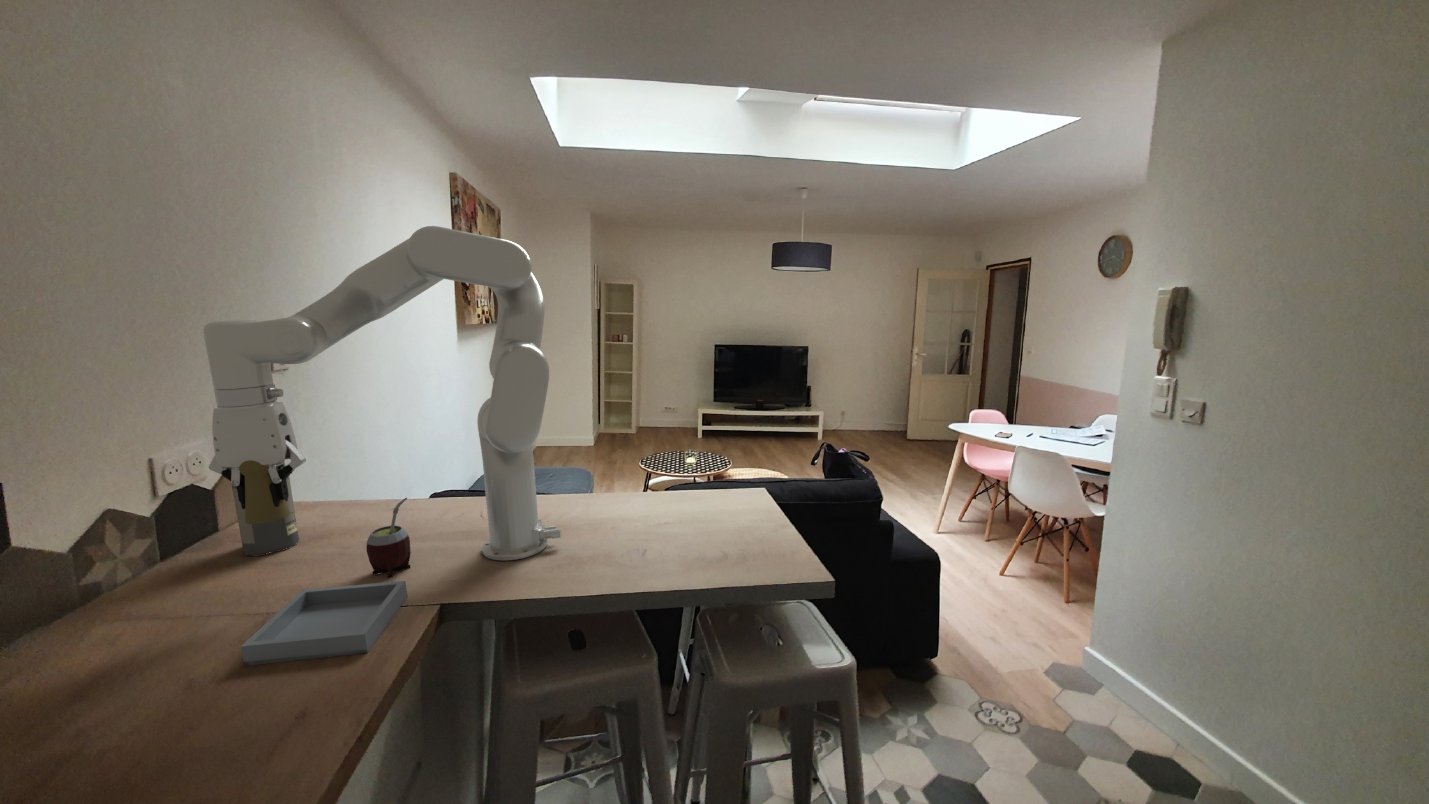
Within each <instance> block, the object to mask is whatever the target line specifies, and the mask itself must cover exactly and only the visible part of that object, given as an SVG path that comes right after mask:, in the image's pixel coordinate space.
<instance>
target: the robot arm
mask: <svg viewBox="0 0 1429 804" xmlns="http://www.w3.org/2000/svg"><path fill="white" fill-rule="evenodd" d="M532 266H533V265H532V260H531V258H530V256H529V254H528V253H527V251H526V249H524V247H522V246H521V245H520V244H518V243H516V242H514V241H511V240H509V239H503V238H497V237H493V236H488V235H482V234H478V233H472V232H468V231H463V230H458V229H453V228H449V227H443V226H438V225H437V226H436V225H427V226H423V227H421V228H418V229H416V230H415V231H414V232H413V233H412V234H411V236H410V237H409V238H407V239H405V240H404V241H402V242H401V243H399V244H398V245H396V246H394V247H392V248H391V249H389V250H387V251H386V252H384V253H382V254H381V255H379V256H377V257H376V258H374V259H372V260H370V261H369V262H367V263H366V264H363V265H362V266H360V267H358V268H356V269H355V270H353V271H352V272H351V273H350V274H348V275H347V276H346V277H345V278H344V279H343V280H342V282H341V283H340V284H338V285H337V286H336V287H335V288H334V289H333V290H331V291H330V292H328V293H327V294H325V295H323V296H322V297H320V298H319V299H318V300H316V301H314V302H313V303H311V304H309V305H308V306H306V307H305V308H302V309H301V310H299V311H298V312H296V313H294V314H293V315H290V316H287V317H282V318H276V319H275V318H274V319H269V320H262V321H257V320H252V319H233V320H230V319H229V320H215V321H211V322H207V323H206V324H205V325H204V327H203V338H204V342H205V349H206V355H207V360H208V365H209V369H210V370H209V371H210V376H211V381H212V387H213V391H214V397H215V403H216V407H215V408H213V411H212V422H211V423H212V428H211V429H212V430H211V431H212V441H213V442H212V443H213V451H214V456H213V458H212V459H211V461H210V464H209V465H208V469H209V471H213V472H215V473H217V474H219V475H221V476H222V477H223V478H225V479H227V480H228V481H230V483H231V486H232V485H233V486H236V487H237V492H238V498H239V502H240V503H241V507H242V509H245V476H244V475H243V474H241V473H240V471H239V467H240V465H241V463H243V462H245V461H248V460H251V461H256V462H259V463H260V464H261V465H265V466H269V467H268V468H269V470H268V471H269V474H270V476H271V479H272V481H273V483H272V484H270V485H269V487H270V492H271V494H272V499H273V503H274V506H276V507H279V504H280V500H285V501H286V502H287V501H288V497H289V493H288V487H287V481H286V479H287V478H288V477H289V478H290V475H292V474H293V472H294V471H295V470H296V469H297V468H299V467H301V466H302V465H303V464H305V463H306V461H307V459H306V458H305V456H304V455H302V453H301V452H300V451H299V450H298V444H297V440H296V435H295V431H294V428H293V426H292V421H291V419H290V416H289V414H288V411H287V409H286V407H285V405H284V403H283V402H281V401H279V402H278V401H277V400H278V398H282V397H283V396H284V390H283V389H282V388H276V385H275V384H274V380H273V373H272V367H271V364H280V365H281V364H282V365H299V364H300V365H301V364H304V363H306V362H309V361H311V360H313V358H315V357H316V356H318V355H319V354H321V353H323V352H324V351H326V350H327V349H329V348H331V347H332V346H334V345H336V343H338V342H340V341H341V340H344V339H345V338H346V337H348V336H349V335H351V334H353V333H354V332H356V331H358V330H360V329H361V328H362V327H365V326H366V325H368V324H370V323H372V322H374V321H377V320H380V319H382V318H384V317H386V316H388V315H389V314H391V313H393V312H394V311H395V310H397V309H398V308H400V307H402V306H403V305H405V304H406V303H408V302H410V301H411V300H413V299H414V298H416V297H417V296H419V295H420V294H422V293H424V292H426V291H427V290H429V289H430V288H431V287H433V286H435V285H436V284H438V283H440V282H441V281H443V280H449V281H453V282H459V283H463V284H464V283H465V284H469V285H470V284H472V285H478V286H484V287H488V288H490V289H491V290H492V291H493V293H494V294H495V296H496V297H495V298H496V299H497V307H498V310H497V318H496V329H495V334H494V335H495V336H494V339H493V345H492V350H491V354H490V357H489V363H488V365H489V366H488V367H489V372H490V375H491V377H492V379H493V380H492V381H493V382H492V389H491V395H490V397H488V398H487V399H486V400H485V401H484V402H483V403H482V405H481V406H480V408H479V411H478V414H477V432H478V438H479V443H480V450H481V451H480V452H481V459H482V466H483V467H482V469H483V480H484V482H483V483H484V493H485V501H486V502H485V503H486V504H485V505H486V514H487V524H488V525H487V526H488V533H489V534H488V536H489V539H488V540H486V541H485V543H483V544H482V547H481V548H482V554H483V556H484V557H485V558H487V559H490V560H493V561H503V562H504V561H515V560H520V559H525V558H529V557H532V556H534V555H536V554H538V553H540V552H542V551H543V550H544V549H545V548H546V547H547V546H548V542H549V540H548V539H553V540H555V539H561V538H562V528H557V525H549V526H545V525H543V523H542V519H539V515H538V514H539V513H538V503H537V502H538V501H537V500H538V499H537V488H536V487H537V486H536V474H535V472H536V471H535V459H534V458H535V457H534V451H533V444H534V442H536V440H537V438H538V436H539V434H540V431H541V427H542V422H543V417H544V411H545V405H546V400H547V394H548V389H549V381H550V367H549V366H550V365H549V361H548V359H547V357H546V355H545V353H544V352H543V351H542V350H541V346H542V339H543V331H544V324H545V323H544V322H545V299H544V295H543V291H542V288H541V287H540V284H539V282H538V280H537V278H536V276H535V275H534V274H533V272H532V270H533V269H532ZM286 460H290V462H289V463H287V464H286V462H285V461H286Z"/></svg>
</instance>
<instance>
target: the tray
mask: <svg viewBox="0 0 1429 804" xmlns="http://www.w3.org/2000/svg"><path fill="white" fill-rule="evenodd" d="M406 583H407V582H406V580H401V581H400V580H399V581H388V582H387V581H386V582H376V583H366V584H365V583H364V584H354V585H353V584H352V585H344V586H343V585H342V586H341V585H340V586H329V587H318V588H307V589H301V591H300V592H299V593H297V594H296V595H295V596H294V597H293V598H292V599H291V600H290V601H289V602H287V603H286V604H285V605H284V606H283V607H282V608H281V609H280V610H279V611H277V613H276V614H274V615H273V616H272V617H271V618H270V619H269V620H268V621H267V622H266V623H265V624H264V625H263V626H261V627H260V628H259V629H258V630H257V631H256V632H255V633H254V634H252V636H250V637H249V638H248V639H247V640H246V641H245V642H244V643H243V644H242V645H240V649H241V654H242V661H243V664H244V665H243V666H244V667H246V666H254V665H257V666H258V665H264V664H275V663H285V662H292V661H293V662H294V661H305V660H313V659H322V658H331V657H344V656H350V655H362V654H368V653H369V652H370V650H371V649H372V648H373V646H374V645H375V643H376V642H377V641H378V639H379V638H380V636H381V635H382V634H383V633H384V630H385V629H386V628H387V627H388V625H389V624H390V622H391V621H392V619H393V618H394V617H395V615H396V614H397V612H398V611H399V609H400V608H401V607H402V606H403V604H404V602H405V601H406V599H407V598H408V592H407V584H406Z"/></svg>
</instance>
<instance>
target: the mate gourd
mask: <svg viewBox="0 0 1429 804" xmlns="http://www.w3.org/2000/svg"><path fill="white" fill-rule="evenodd" d="M407 499H408V497H405V498H404V499H402V500H400V501H399V502H398V503H397V504H396V506H395V507H394V508H393V511H392V519H391V525H387V526H383V527H379V528H377V529H374V530H373V531H372V532H370V534H369V536H368V537H367V541H366V554H367V557H368V561H369V563H370V565H371V567H372V572H371V573H372V575H373V576H374V574H375V575H379V574H378V573H381V574H386V573H387V579H391V578H393V577H394V574H395V572H397V571H403V570H402V569H404V570H407V569H406V568H409V569H411V564H410V558H411V554H412V553H411V540H410V539H411V538H410V535H409V534H408V532H407V531H406V529H404V527H402V526H400V525H396V519H397V515H398V513H399V510H400V509H399V508H400V507H401V505H402V504H403V503H404V502H405V501H406V500H407ZM393 573H394V574H393Z"/></svg>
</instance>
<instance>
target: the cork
mask: <svg viewBox="0 0 1429 804" xmlns="http://www.w3.org/2000/svg"><path fill="white" fill-rule="evenodd" d="M268 467H269V466H265V465H261V464H260V463H259V462H256V461H251V460H248V461H245V462H243V463H241V465H240V467H239V471H240V473H241V474H243V475H244V476H245V523H247V524H263V523H268V522H273V521H277V520H280V519H282V518H285V517H287V516H288V515H289V514H290V510H289V507H288V505H287V502H286V501H285V500H280V504H279V507H276V506H274V503H273V499H272V494H271V492H270V487H269V485H270V484H272V483H273V481H272V479H271V476H270V474H269V471H268V470H269V468H268Z"/></svg>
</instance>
